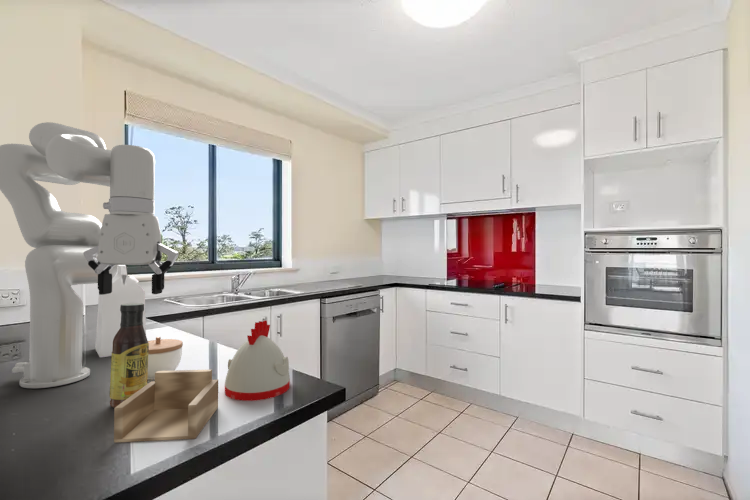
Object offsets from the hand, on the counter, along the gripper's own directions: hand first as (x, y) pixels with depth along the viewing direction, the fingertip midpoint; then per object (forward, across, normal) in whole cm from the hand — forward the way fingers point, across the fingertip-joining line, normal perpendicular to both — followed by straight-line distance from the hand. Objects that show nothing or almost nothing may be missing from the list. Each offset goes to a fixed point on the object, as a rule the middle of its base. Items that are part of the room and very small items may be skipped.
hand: (131, 293), depth 74 cm
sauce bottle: (+22, 0, 0) cm, 22 cm away
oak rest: (+22, +12, -10) cm, 27 cm away
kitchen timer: (+22, +24, +6) cm, 33 cm away
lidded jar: (+22, -2, +17) cm, 28 cm away
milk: (+22, -24, +43) cm, 54 cm away
